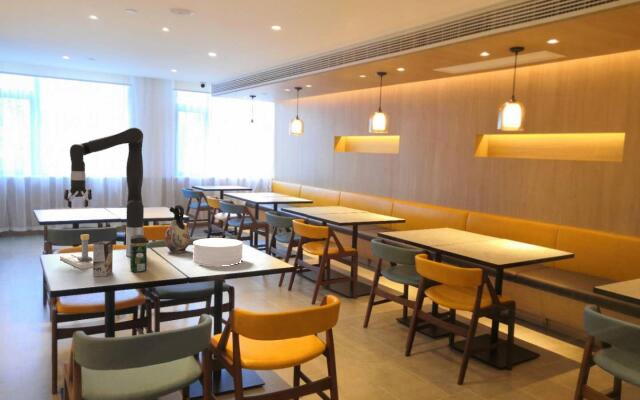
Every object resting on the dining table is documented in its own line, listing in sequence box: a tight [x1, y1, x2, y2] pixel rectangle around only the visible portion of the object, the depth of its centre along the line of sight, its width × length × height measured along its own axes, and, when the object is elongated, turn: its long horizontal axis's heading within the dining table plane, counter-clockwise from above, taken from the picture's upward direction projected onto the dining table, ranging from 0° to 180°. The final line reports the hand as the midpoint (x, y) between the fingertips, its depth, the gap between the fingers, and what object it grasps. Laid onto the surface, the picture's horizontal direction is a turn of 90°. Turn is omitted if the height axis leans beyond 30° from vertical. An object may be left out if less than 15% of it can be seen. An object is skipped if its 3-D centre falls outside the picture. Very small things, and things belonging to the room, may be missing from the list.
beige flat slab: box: [59, 253, 93, 270], centre depth 256 cm, size 28×11×2 cm, turn 48°
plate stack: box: [192, 237, 243, 267], centre depth 274 cm, size 28×28×12 cm
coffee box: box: [92, 240, 114, 277], centre depth 234 cm, size 9×6×16 cm
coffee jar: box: [129, 234, 148, 273], centre depth 245 cm, size 10×8×19 cm
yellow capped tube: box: [78, 233, 93, 261], centre depth 252 cm, size 4×6×14 cm
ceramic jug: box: [164, 204, 191, 254], centre depth 294 cm, size 17×15×30 cm
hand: (78, 207), depth 271 cm, fingers open, 8 cm apart
